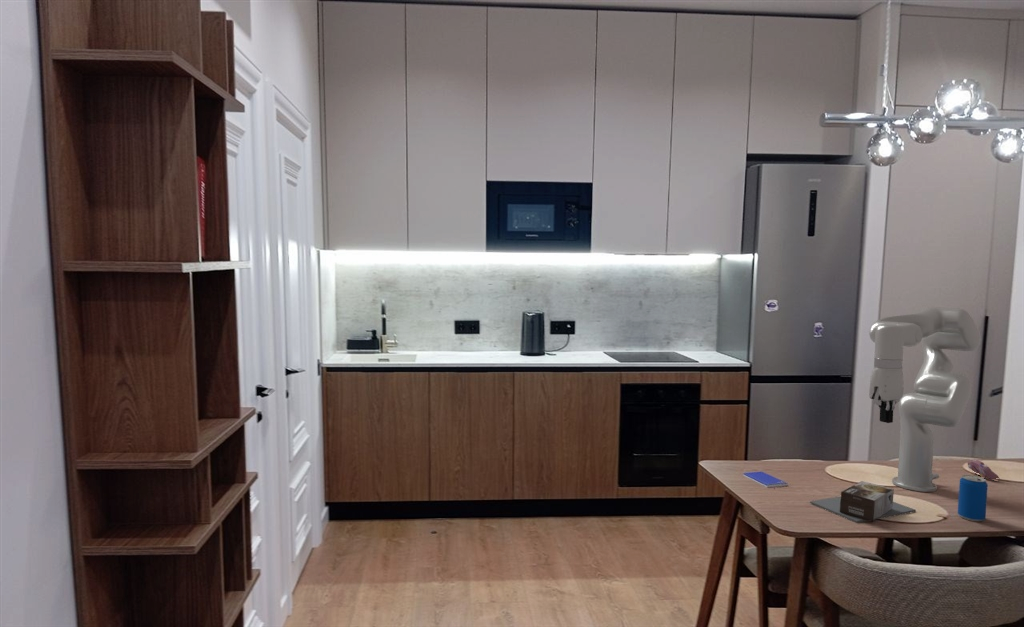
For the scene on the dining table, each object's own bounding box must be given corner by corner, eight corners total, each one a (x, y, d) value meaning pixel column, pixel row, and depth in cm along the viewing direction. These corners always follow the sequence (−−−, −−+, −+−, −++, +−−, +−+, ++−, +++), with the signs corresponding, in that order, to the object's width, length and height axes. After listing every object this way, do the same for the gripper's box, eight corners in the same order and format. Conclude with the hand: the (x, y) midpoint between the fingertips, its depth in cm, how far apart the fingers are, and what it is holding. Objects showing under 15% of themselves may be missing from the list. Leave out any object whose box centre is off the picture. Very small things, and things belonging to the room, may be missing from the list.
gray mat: (866, 493, 196) (866, 492, 196) (915, 511, 181) (915, 509, 181) (809, 503, 186) (809, 501, 186) (856, 522, 172) (856, 520, 172)
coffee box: (860, 500, 188) (838, 512, 178) (861, 480, 188) (839, 490, 177) (893, 509, 181) (872, 522, 171) (894, 488, 181) (873, 500, 170)
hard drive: (787, 482, 202) (762, 471, 214) (767, 484, 200) (743, 472, 212) (787, 487, 203) (762, 475, 214) (766, 488, 200) (743, 477, 212)
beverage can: (990, 523, 173) (993, 482, 173) (965, 521, 174) (967, 480, 174) (977, 514, 180) (979, 475, 179) (953, 513, 181) (955, 473, 180)
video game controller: (970, 476, 221) (962, 459, 221) (983, 472, 220) (975, 454, 220) (988, 486, 211) (980, 468, 211) (1001, 481, 210) (993, 462, 210)
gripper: (892, 360, 194) (890, 416, 195) (860, 364, 188) (858, 421, 189) (916, 363, 187) (913, 422, 189) (883, 367, 181) (881, 427, 183)
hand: (886, 421), depth 189 cm, fingers closed
